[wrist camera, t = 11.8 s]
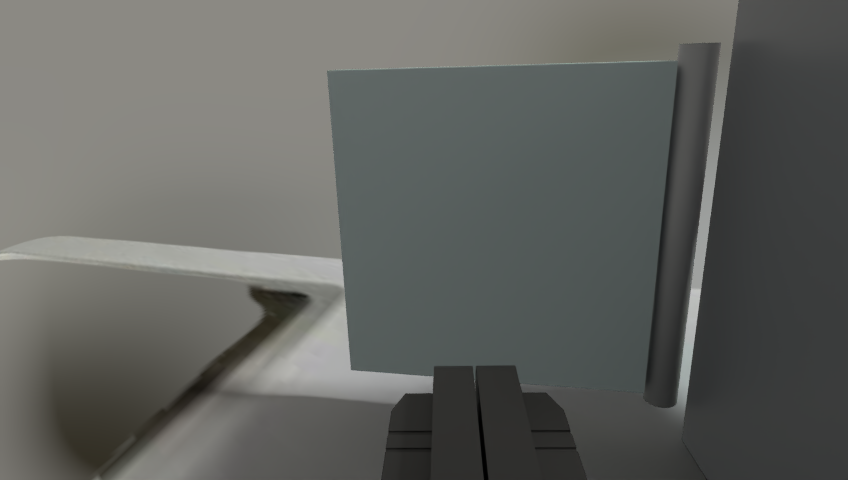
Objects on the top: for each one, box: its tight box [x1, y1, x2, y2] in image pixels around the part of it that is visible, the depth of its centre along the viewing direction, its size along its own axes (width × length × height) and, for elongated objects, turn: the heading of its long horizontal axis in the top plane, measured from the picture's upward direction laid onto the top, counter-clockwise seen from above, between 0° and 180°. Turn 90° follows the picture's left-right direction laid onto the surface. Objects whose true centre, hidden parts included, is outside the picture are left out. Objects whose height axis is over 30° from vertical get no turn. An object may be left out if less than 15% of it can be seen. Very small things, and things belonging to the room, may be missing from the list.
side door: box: [327, 43, 721, 408], centre depth 21 cm, size 2×13×13 cm, turn 79°
